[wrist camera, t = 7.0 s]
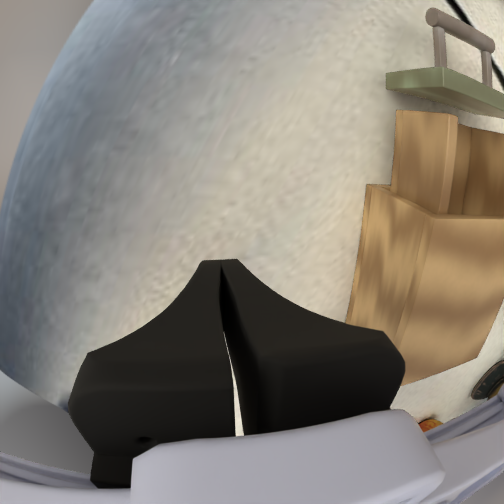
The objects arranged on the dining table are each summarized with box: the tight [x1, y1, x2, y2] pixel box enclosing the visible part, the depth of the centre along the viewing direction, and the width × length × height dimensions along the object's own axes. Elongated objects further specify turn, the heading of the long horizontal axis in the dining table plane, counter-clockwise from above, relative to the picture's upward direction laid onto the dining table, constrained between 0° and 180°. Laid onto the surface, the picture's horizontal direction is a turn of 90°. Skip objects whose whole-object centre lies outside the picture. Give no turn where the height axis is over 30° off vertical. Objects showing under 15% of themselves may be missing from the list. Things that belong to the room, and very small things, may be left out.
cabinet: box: [345, 184, 504, 386], centre depth 20 cm, size 13×11×8 cm
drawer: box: [386, 8, 504, 216], centre depth 15 cm, size 16×9×6 cm, turn 0°
